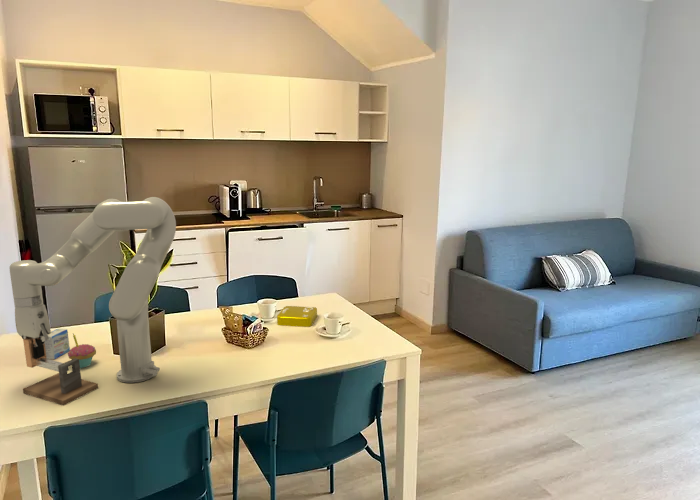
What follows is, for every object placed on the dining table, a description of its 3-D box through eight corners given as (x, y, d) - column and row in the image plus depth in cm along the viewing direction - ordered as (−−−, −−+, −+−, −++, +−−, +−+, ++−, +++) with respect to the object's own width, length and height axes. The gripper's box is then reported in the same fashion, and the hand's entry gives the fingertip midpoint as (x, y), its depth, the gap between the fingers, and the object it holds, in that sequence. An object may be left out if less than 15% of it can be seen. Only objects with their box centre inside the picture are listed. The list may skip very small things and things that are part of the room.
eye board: (98, 387, 161) (94, 357, 159) (63, 405, 150) (59, 372, 148) (59, 377, 168) (55, 347, 166) (23, 393, 157) (18, 361, 155)
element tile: (285, 314, 231) (285, 304, 230) (318, 316, 228) (317, 306, 227) (275, 326, 216) (275, 315, 215) (310, 328, 214) (310, 317, 213)
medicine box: (54, 359, 181) (51, 336, 180) (43, 358, 182) (40, 335, 181) (70, 351, 189) (67, 328, 187) (60, 350, 190) (57, 328, 188)
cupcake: (69, 372, 172) (65, 338, 169) (69, 362, 179) (65, 330, 177) (97, 367, 176) (94, 334, 173) (96, 357, 183) (93, 326, 181)
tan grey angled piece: (73, 368, 159) (70, 341, 157) (58, 374, 154) (54, 346, 152) (42, 360, 164) (38, 333, 163) (26, 366, 160) (23, 339, 158)
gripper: (57, 300, 158) (64, 356, 161) (23, 294, 164) (30, 348, 168) (34, 307, 151) (42, 365, 155) (-1, 300, 157) (7, 356, 161)
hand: (36, 356), depth 161 cm, fingers closed on tan grey angled piece, 2 cm apart
